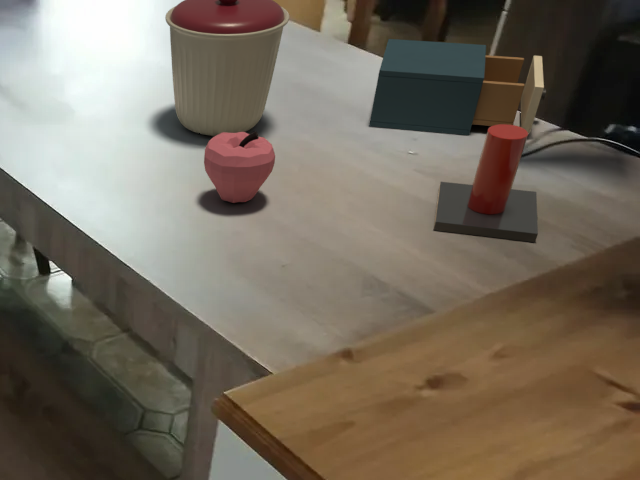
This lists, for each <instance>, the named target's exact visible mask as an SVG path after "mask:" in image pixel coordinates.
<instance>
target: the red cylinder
mask: <svg viewBox="0 0 640 480" xmlns="http://www.w3.org/2000/svg"><path fill="white" fill-rule="evenodd" d="M528 136H529V133H528V132H527V131H526V130H525V129H524V128H521V126H519V125H515V124H513V125H508V124H499V125H493V126H488V128H487V132H486V135H485V139H484V142H483V146H482V149H481V153H480V157H479V159H478V164H477V167H476V171H475V174H474V179H473V182H472V184H471V185H472V189H471V193H470V196H469V200H468V207H469V208H470V209H471V210H473V211H475V212H478V213H482V214H498V213H501V212H503V211H504V210H505V208H506V205H507V202H508V198H509V195H510V192H511V189H513V185H514V183H515V179H516V175H517V172H518V169H519V165H520V162H521V160H522V155H523V153H524V149H525V145H526V143H527V139H528Z"/></svg>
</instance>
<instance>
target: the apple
mask: <svg viewBox="0 0 640 480" xmlns="http://www.w3.org/2000/svg"><path fill="white" fill-rule="evenodd" d="M275 161H276V154H275V150H274V147H273V144H272V143H271V142H269V140H268V139H266V138H265V137H263V136H260V135H259V133H258V131H256V130H254V131H253V132H251V133H248V132H238V133H225V132H222V133H220V134H218V135H216V136H212V138H211V139H210V140H208V142H207V144H206V146H205V148H204V156H203V165H204V171H205V173H206V175H207V176H208V178H209V180H210V181H211V183H212V185H213V186H214V189H215V190H216V192H217V193H218V195H219V197H220V199H221V201H224V202H228V203H231V204H236V203H246V202H249V201H250V200H252V199H253V198H254V197H255V196H256V194H258V192H259V190H260V188H261V187H262V186H263V184H264V183H265V182H266V181H267V179H268V178H269V177H270V175H271V173H272V172H273V170H274V166H275V164H276V162H275Z"/></svg>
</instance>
